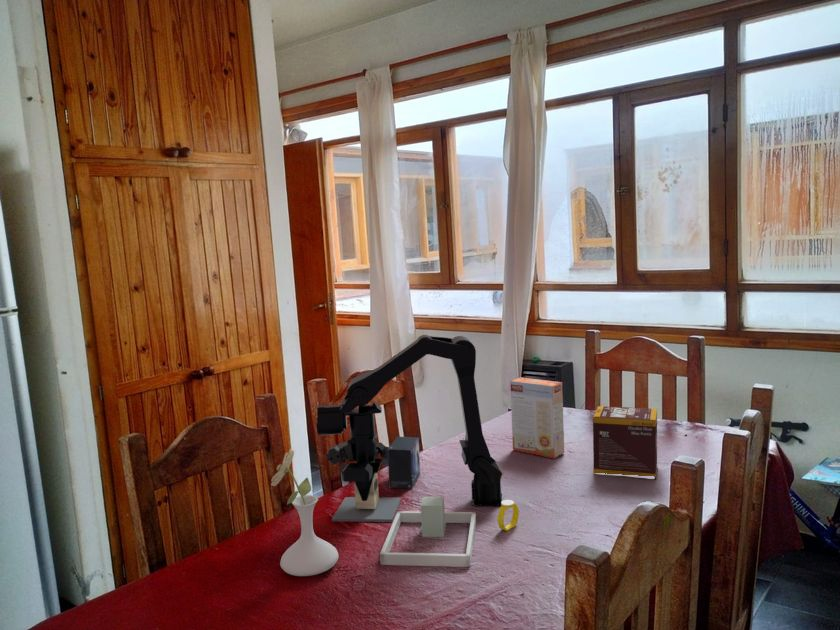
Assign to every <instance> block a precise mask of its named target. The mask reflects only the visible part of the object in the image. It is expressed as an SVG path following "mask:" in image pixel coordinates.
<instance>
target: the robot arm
mask: <svg viewBox="0 0 840 630" xmlns="http://www.w3.org/2000/svg"><path fill="white" fill-rule="evenodd" d="M476 354H477V352H476V347H475V345H474V344H473V342H472V341H470V339H469V338H467V337H466V336H463V335H458V336H457V335H456V336H454V337H453V338H452V337H443V336H432V335H428V334H422V335H420V336H418V337H417V339H416V340H414V341H413V342H411V344H409V345H407V346H406V347H404V349H402V350H401V351H399V352H397V353H396V354H395V355H394V356H391V358H389V359H388V360H387V361H385V362H384V363H382V364H381V365H380V366H378V367H377V368H374V369H371V370H368V371H365V372H363V373H362V374H360V375H357V376H355V377H353V378H352V379H351V380H350V381H349V383H348V386H347V390H346V391H347V392H346V395H345V396H344V397H343V398H342V401H341V404H334V405H333V404H332V405H325V404H321V405H318V406H317V408H316V411H317V412H316V413H317V415H316V420H317V421H316V432H317V436H328V435H330V436H331V435H341V434H343V433H344V432H345V430H348V417H349V430H350V431H349V432H350V437H349V438H348V439H347V441H344V442H341V443H339V444H336V445H333V446H331V447H330V448H329V449H328V450H327V451H326V454H325V455H326V456H327V457H326V461H328V462H330V464H331V466H334V465H337V463H341V462H343V461H345V460H347V461H348V464H347V465H346V466H345V468H344V469H343V470H342V471H341V479H342V482H353V483H354V482H355V484H356V486H357V488H358V491H359V494H360V496H361V499H362V501H367V499H368V495H369V492H370V488H371V485H372V481H373V478H374V475H375V473H377V475H378V474H379V471H380V468H381V465H382V462H383V458H384V456H385V455H386V446H385V444H383V443H382V442H377V441H376V440H377V438H378V432H376V427H375V415H376V414H382V406H380V405H379V404H378V403H377V402H376V400H373V399H374V398H375V397H376V396H377V395H378V394H379V392H380V391H381V390H382V389H384V387H385V386H386V384H388V382H390V381H392V380H393V379H395V378H396V377H398V375H400V374H402V373H403V372H405V371H406V370H407V369H409V368H410V367H411V366H413V365H414V364H416V363H417V362H419V361H420V360H421V359H423V358H424V357H425V356H428V355H431V356H435V357H439V358H442V359H443V358H444V359H448V360H450V361H451V364H452V365H453V369H454V372H455V374H456V378H457V384H458V391H459V397H460V398H459V399H460V403H461V410H462V418H463V423H464V429H465V437H464V439H459V443H460V447H461V455H460V456H461V458H462V461H463V463H464V465H465V466H467V467H468V469H469V471H470V472H471V473H473V479H471V485H470V486H471V499H472V501H473V506H477V507H478V506H484V507H485V506H486V507H487V506H488V507H489V506H490V507H491V506H492V507H493V506H495V507H496V506H497V507H499V506H500V507H501V502H502V501H503V493H502V480H501V479H502V477H503V471H502V470H501V468H500V467H499V465H498V463H497V460H495V459H494V458H493V457H492V456H491V453H490V450H489V446H488V445H487V442H486V439H485V436H484V434H483V427H482V420H481V415H480V414H481V413H480V408H479V402H478V400H479V399H478V394H477V388H476V383H475V381H476V380H475V372H476V361H477V360H476V359H477V357H476V356H477V355H476ZM372 400H373V401H372ZM371 401H372V402H371ZM370 402H371V403H370ZM369 403H370V404H369ZM378 456H380V457H381V458H378Z"/></svg>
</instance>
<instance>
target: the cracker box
mask: <svg viewBox="0 0 840 630" xmlns="http://www.w3.org/2000/svg"><path fill="white" fill-rule="evenodd" d="M509 382H510V403H511V404H510V407H511V410H510V411H511V431H512V432H511V434H512V435H511V436H512V438H511V439H512V450H513V451H516V450H517V451H516V452H520V451H522V453H525V452H526V453H525V454H530V453H531V454H530V455H534V454H536V455H535V456H539V455H540V457H545V458H548V457H549V458H550V459H553V458H555V459H556V458H558V457H560V456H562V455H564V454H565V433H564V432H565V431H564V430H565V429H564V426H565V425H564V397H563V393H564V392H563V382H562V381H554V380H545V379H540V378H529V377H522V376H521V377H518V378H514V379H512V380H510V381H509ZM563 453H564V454H563ZM561 454H562V455H561ZM559 455H560V456H559Z"/></svg>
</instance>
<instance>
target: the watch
mask: <svg viewBox="0 0 840 630" xmlns="http://www.w3.org/2000/svg"><path fill="white" fill-rule="evenodd" d="M511 508H512V517H511V520H510V522H509V524H507V525H506V526H505V523H504V522H505V521H504V520H505V519H504V518H505V514H506V511H507V510H508V509H511ZM519 516H520V510H519V507H518V505H517V504H516V503H515V501H514V500H512V499H504V500H503V499H502V502H501V506H500V508H499V510H498V514H497V524H498V527H499V529H501V530H502V531H506V532H509V531H510V530H511V529H513V528H515V527H516V526H517V523H518V521H519Z"/></svg>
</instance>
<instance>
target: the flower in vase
mask: <svg viewBox="0 0 840 630" xmlns="http://www.w3.org/2000/svg"><path fill="white" fill-rule="evenodd" d="M294 455H295V449H292V448H290V449H289V451H288V452H285V454H284V456H283V460H282V464H278V465H277V467H276V471H277V472H276V473H275V475H274V476H273V477H272V478H271V481H270V482H271V483H270V485H271V487H272V486H273V487H276V486H277V485H278V484H279V483H280V482H281V481H282V480H283V477H284V476H285V474H286V473H289V475H290V476H291V478H292V479H293V480H292V481H294V484H295V485H296V488H297V490H296V491H294V492H293V493H292V494H291V495H290V496H289V498H288V500H287V502H286V503H287V504H286V505H289V504H292V506H294V507H295V509H296V511H297V512H298V515H299V516H298V517H299V519H300V528H301V532H300V537H299V538H298V539H297V540H296V542H294V543H293V544H291V545H290V546H289V547H288V548H287V549H286V550H285V552H284V553H283V554H282V556H281V559H280V560H279V561H280V562H279V564H280V565H279V566H280V568H281V569H282V570H283V571H284V572H285V573H287V574H288V575H291V576H295V577H310V576H315V575H319V574H322V573H324V572H327V571H329V570H330V569H331V568H332V567H334V566H335V565H336V563H338V562H337V561H339V552H338V549H337V548H336V547H335V546H334V545H333V544H331V542H328V541H326V540H324V539H322V538H320V537H318V536H317V535H316V534H315V532H314V531H315V530H314V527H313V526H314V525H313V524H314V523H313V519H314V518H313V516H314V515H313V514H314V508H315V507H316V504H317V502H318V501H319V498H318V496H315V495H312V494H309V493H310V492H311V491H312V486H311V483H310V480H309V478H308V477H306V478H305V479H303V481H301V483H300V484H298V482H297V480H296V478H295V476H294V475H293V473H292V471H291V470H290V466H291V464H292V461H293V458H294ZM298 494H299V495H300V496H298Z"/></svg>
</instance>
